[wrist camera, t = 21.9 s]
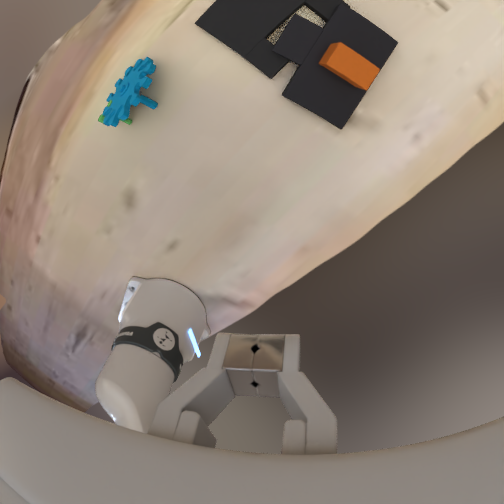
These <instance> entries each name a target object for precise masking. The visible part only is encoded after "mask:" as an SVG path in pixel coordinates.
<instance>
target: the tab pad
mask: <svg viewBox="0 0 504 504" xmlns="http://www.w3.org/2000/svg"><path fill="white" fill-rule="evenodd" d="M397 44H398V42H397V41H396V40H394V39H393V38H392V37H391V36H389V35H388V34H387V33H385V32H384V31H383V30H381V29H380V28H379V27H377V26H376V25H374V24H373V23H372V22H370V21H369V20H367V19H366V18H364V17H363V16H361V15H360V14H358V13H357V12H355V11H354V10H352V9H350V8H349V7H347V6H346V5H344V4H342V3H341V4H339V5H338V6H337V7H336V9H335V10H334V12H333V13H332V15H331V16H330V18H329V19H328V21H327V22H326V24H325V25H324V27H323V28H321V27H319V26H318V25H316V24H314V23H312V22H310V21H308V20H307V19H305V18H303V17H301V16H299V15H297V14H294V15H293V17H292V18H291V20H290V21H289V23H288V24H287V26H286V28H285V29H284V31H283V32H282V34H281V36H280V37H279V39H278V41H277V42H276V44H275V46H274V47H273V49H272V52H275V53H277V54H279V55H281V56H283V57H285V58H287V59H289V60H291V61H293V62H294V63H296V64H298V65H299V67H298V68H297V70H296V72H295V73H294V75H293V77H292V78H291V80H290V82H289V83H288V85H287V87H286V88H285V90H284V92H283V94H282V95H283V96H284V97H286V98H288V99H289V100H291V101H293V102H295V103H297V104H299V105H301V106H302V107H304V108H306V109H308V110H310V111H311V112H313V113H315V114H317V115H318V116H320V117H322V118H323V119H325V120H327V121H328V122H330V123H332V124H333V125H335V126H337V127H338V128H340V129H342V128H343V127H344V125H345V124H346V122H347V121H348V119H349V118H350V116H351V115H352V113H353V111H354V110H355V108H356V107H357V105H358V104H359V102H360V101H361V99H362V98H363V96H364V95H365V93H366V92H367V90H368V88H369V87H370V85H371V84H372V82H373V81H374V79H375V78H376V76H377V75H378V73H379V72H380V70H381V68H382V67H383V65H384V64H385V62H386V61H387V59H388V58H389V56H390V55H391V53H392V51H393V50H394V48H395V47H396V45H397Z"/></svg>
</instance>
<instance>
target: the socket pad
mask: <svg viewBox="0 0 504 504" xmlns="http://www.w3.org/2000/svg"><path fill="white" fill-rule="evenodd" d="M341 3H342V4H344V5H346V6H347V7H349V8H350V6H349V5H348V4H346V3H345V2H344V1H343V0H216V1H215V2H214V3H213V4H212V5H211V6H210V7H209V8H208V10H207V11H206V12H205V13H204V14H203V15H202V16H201V17H200V18H199V19H198V20H197V21H196V22H195V24H196V25H197V26H199V27H201V28H202V29H204V30H205V31H207V32H208V33H210V34H211V35H213V36H214V37H216V38H217V39H219V40H220V41H222V42H223V43H225V44H226V45H227V46H229V47H230V48H232V49H233V50H234V51H236V52H237V53H238V54H240V55H241V56H242V57H244V58H245V59H246V60H248V61H249V62H250V63H252V64H253V65H254V66H256V67H257V68H258V69H259V70H261V71H262V72H263V73H264V74H266V75H267V76H268V77H269V78H271V79H272V78H273V77H274V76H275V75H276V74H277V73H278V72H279V71H280V70H281V69H282V68H283V67H284V66H285V65H286V64H287V63H288V62H289V61H290V60H289V59H287V58H285V57H283V56H281V55H279V54H277V53H275V52H272V49H273V47H274V46H275V45H273V44H272V43H271V42H269V41H268V40H267V38H268V37H269V36H270V35H271V34H272V33H273V32H274V31H275V30H276V29H277V28H278V27H279V26H281V25H282V24H283V23H284V22H285V21H286V20H287V19H288V18H289V17H291V16H292V15H293V14H294V13H295V12H296V11H297V10H299V9H300V8H301V7H302V6H303V5H306V6H307V7H308V8H310V9H311V10H312V11H313V12H315V13H316V14H317V15H319V16H320V17H321V18H322V19H323V20H325V21H326V22H327V21H328V19H329V18H330V16H331V15H332V13H333V12H334V10H335V9H336V7H337V6H338V5H339V4H341Z"/></svg>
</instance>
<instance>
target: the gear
mask: <svg viewBox="0 0 504 504" xmlns="http://www.w3.org/2000/svg"><path fill="white" fill-rule="evenodd" d="M155 69H156V65H154V64H153V60H152V59H150V58H149V57H146V58H145V60H142V59H139V60H137V62H136V63H135V66H134V68H133V67H132V66H130V67H129V68H128V69H127V70H126V71H125V76H124V79H123V80H122V79H119V80H118V81H117V82H116V84H115V87H116V92H115V94H113V93H110V95H109V97H108V99H107V102H109V103H108V105H107V106H106V107H105V109H104V111H103V114H101V115H100V117H99V119H98V121H99V122H101V123H104V124H105V125H107V126H110V125H111V126H114V127H116V126H117V125H118V123H119V120H120V121H123V122H125V123H127V124H129V125H130V124H131V123H132V120H131V119H129V118H128V117H129V114H130V107H131V106H132V105H134V106H137V105H138V104H139V103H142V104H144V105H146V106H148V107H150V108H152V109H155V108H156V107H157V105H158V103H157V102H155V101H153V100H151V99H149V98H148V97H146V96H144V95H142V92H141V91H140V88H141V87H143V88H145V89H147V88H148V87H149V86H150V84H151V82H152V79H150V78H149V77H147V76H146V75H147V74H150V75H151V74H153V73H154V71H155ZM145 76H146V77H145Z"/></svg>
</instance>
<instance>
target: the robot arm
mask: <svg viewBox="0 0 504 504" xmlns="http://www.w3.org/2000/svg"><path fill="white" fill-rule="evenodd" d="M118 321H119V322H120V327H119V332H118V335H117V336H116V338H115V340H114V342H113V345H112V352H111V354H110V356H109V357H108V359H107V361H106V363H105V365H104V367H103V368H102V370H101V372H100V374H99V376H98V378H97V380H96V383H95V391H96V396H97V398H98V400H99V402H100V403H101V405H102V407H103V408H104V409H105V411H106V412H107V413H108V414H109V416H110V417H111V418H112V419H113V420H114V422H115V423H116V424H113V423H110V422H107V421H104V420H102V419H99V418H96V417H93V416H91V415H88V414H86V413H83V412H81V411H78V410H76V409H74V408H71V407H69V406H67V405H65V404H62V403H60V402H58V401H56V400H54V399H52V398H50V397H48V396H46V395H44V394H42V393H40V392H38V391H36V390H34V389H32V388H30V387H28V386H26V385H24V384H23V383H21V382H19V381H18V380H16V379H14V378H11V377H7V378H5V379H3V380H1V381H0V504H504V417H501V418H499V419H497V420H494V421H491V422H489V423H486V424H483V425H480V426H478V427H475V428H472V429H469V430H465V431H462V432H459V433H456V434H453V435H449V436H445V437H441V438H438V439H433V440H430V441H425V442H420V443H415V444H410V445H405V446H400V447H394V448H387V449H380V450H373V451H364V452H354V453H341V454H337V418H336V417H335V415H334V414H333V412H332V411H331V410H330V408H329V407H328V406H327V404H326V403H325V402H324V400H323V399H322V398H321V396H320V395H319V394H318V392H317V391H316V390H315V388H314V387H313V385H312V384H311V383H310V381H309V380H308V378H307V377H306V376H305V374H304V373H303V372H300V335H299V334H259V335H252V334H234V333H218V334H217V336H216V338H215V342H214V345H213V348H212V352H211V355H210V358H209V362H208V365H207V368H202V369H200V371H198V372H197V373H196V374H195V375H193V376H192V377H191V378H190V379H189V380H187V381H186V382H185V383H184V384H183V385H181V386H180V387H179V388H178V389H176V390H175V391H174V392H173V393H172V394H170V395H169V392H170V390H171V387H172V384H173V383H174V382H175V381H176V380H177V378H178V376H179V374H180V372H181V368H182V365H183V363H185V362H188V361H191V360H192V358H193V356H194V354H195V352H196V353H197V356H198V357H200V351H199V348H198V345H199V343H200V341H201V340H203V339H206V338H208V337H209V335H210V329H209V327H208V325H207V323H206V311H205V308H204V306H203V304H202V302H201V301H200V300H199V298H198V297H197V296H196V295H195V294H194V293H193V292H192V291H190V290H189V289H187V288H186V287H184V286H183V285H181V284H179V283H176V282H174V281H171V280H167V279H142V278H138V277H132V278H131V279H130V281H129V283H128V286H127V289H126V293H125V296H124V299H123V303H122V306H121V309H120V313H119V316H118ZM235 395H238V396H260V397H276V398H280V399H281V401H282V403H283V404H284V406H285V408H286V410H287V411H288V413H289V415H290V417H291V419H292V420H288V421H287V422H286V423H285V425H284V434H283V442H282V451H281V454H264V453H252V452H251V453H250V452H240V451H233V450H224V449H217V448H215V445H216V438H215V437H214V436H213V434H212V433H211V431H210V430H209V428H208V426H209V425H210V424H211V423H212V421H214V420H215V418H216V417H217V416H218V415H219V414H220V413H221V412H222V411H223V410H224V409H225V408H226V406H227V405H228V404H229V403H230V402H231V401H232V400H233V399H234V398H235Z"/></svg>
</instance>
